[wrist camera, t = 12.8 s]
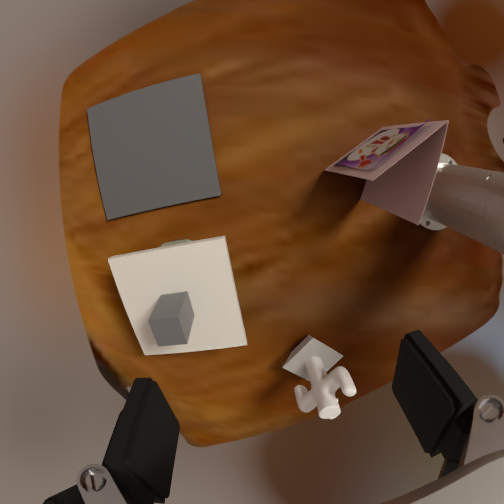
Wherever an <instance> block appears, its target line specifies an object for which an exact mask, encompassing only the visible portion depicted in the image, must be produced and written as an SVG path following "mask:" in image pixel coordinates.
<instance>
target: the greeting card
mask: <svg viewBox="0 0 504 504" xmlns="http://www.w3.org/2000/svg"><path fill="white" fill-rule="evenodd" d="M429 120H430V119H429ZM429 120H428V121H429ZM428 121H427V122H424V123H414V124H405V125H397V126H389V127H382V128H381V129H380V130H378V131H377V132H376V133H374V134H373V135H371V136H370V137H369V138H367V139H366V140H364V141H363V142H362V143H360V144H359V145H358V146H356V147H355V148H353V149H352V150H351V151H349V152H348V153H347V154H345V155H344V156H342V157H341V158H340V159H338V160H337V161H336V162H334V163H333V164H332V165H330V166H329V167H328V168H326V169H325V171H330V172H335V173H340V174H344V175H349V176H354V177H358V178H363V179H367V180H366V183H365V186H364V189H363V192H362V195H361V198H360V200H362V201H364V202H367V203H369V204H372V205H374V206H376V207H379V208H381V209H383V210H386V211H388V212H390V213H392V214H395V215H397V216H399V217H401V218H403V219H406V220H408V221H410V222H412V223H414V224H416V225H418V226H419V223H420V221H421V218H422V215H423V212H424V209H425V206H426V203H427V200H428V197H429V194H430V191H431V188H432V185H433V181H434V178H435V175H436V171H437V168H438V164H439V160H440V157H441V153H442V149H443V145H444V140H445V136H446V131H447V127H448V122H449V120H448V121H435V122H428Z"/></svg>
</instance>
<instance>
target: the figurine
mask: <svg viewBox="0 0 504 504" xmlns="http://www.w3.org/2000/svg"><path fill="white" fill-rule="evenodd" d="M342 357H343V355H341V354H340V353H338V352H336V351H335V350H333V349H332V348H330V347H328V346H327V345H325V344H323V343H322V342H320V341H318V340H317V339H315V338H313V337H312V336H310V335H308V336H307V337H306V338H305V339H304V340H303V341H302V342H301V343H300V344H299V345H298V346H297V347H296V348H295V349H294V350H293V351H292V352H291V354H290V355H289V357H288V359H287V360H286V362H285V364H284V366H283V367H282V368H284V369H286V370H288V371H290V372H292V373H294V374H296V375H298V376H300V377H302V378H304V379H306V380H309V381H310V382H311V390H310V391H307V389H306V387H304V386H302V385H297V386H296V387H295V388H294V391H295V395H296V400H297V404H298V407H299V409H300V410H301V411H303V412H310V411H311V410H312V409H314V408H315V407H316V406H317V408H318V413H319V417H321V418H322V419H334V418H336V417H337V416H338V415H339V414H340V412H341V411H340V407H339V404H338V399H337V398H335V392H336V390H337V389H338V388H339V387H341V390H342V392H343V393H344V394H345V395H346V396H354V395H355V394H356V387H355V385H354V383H353V381H352V378H351V376H350V374H349V372H348V371H347V370H346V369H345V368H344V367H342V366H338V367H336V368H335V369H334V370H332V371H331V372H330V373H329V374H328V375H327V373H326V372H327V371H328V370H329V369H330V368H331V367H332V366H333V365H334V364H336V363H337V362H338V361H339V360H340V359H341V358H342Z"/></svg>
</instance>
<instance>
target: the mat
mask: <svg viewBox="0 0 504 504" xmlns="http://www.w3.org/2000/svg"><path fill="white" fill-rule="evenodd" d="M87 113H88V121H89V129H90V136H91V143H92V150H93V156H94V161H95V167H96V172H97V177H98V182H99V187H100V191H101V196H102V200H103V205H104V209H105V213H106V217H107V220H110V219H114V218H118V217H122V216H126V215H130V214H134V213H139V212H143V211H147V210H152V209H156V208H161V207H165V206H170V205H175V204H180V203H184V202H189V201H194V200H199V199H205V198H210V197H215V196H221V190H220V185H219V179H218V174H217V168H216V162H215V157H214V151H213V146H212V140H211V134H210V128H209V122H208V117H207V111H206V105H205V99H204V93H203V87H202V80H201V74H200V73H199V74H195V75H190V76H186V77H182V78H178V79H174V80H170V81H166V82H163V83H159V84H156V85H152V86H149V87H146V88H142V89H139V90H136V91H133V92H130V93H127V94H124V95H121V96H119V97H116V98H113V99H111V100H108V101H105V102H103V103H100V104H98V105H95V106H93V107H90V108H88V109H87Z"/></svg>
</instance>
